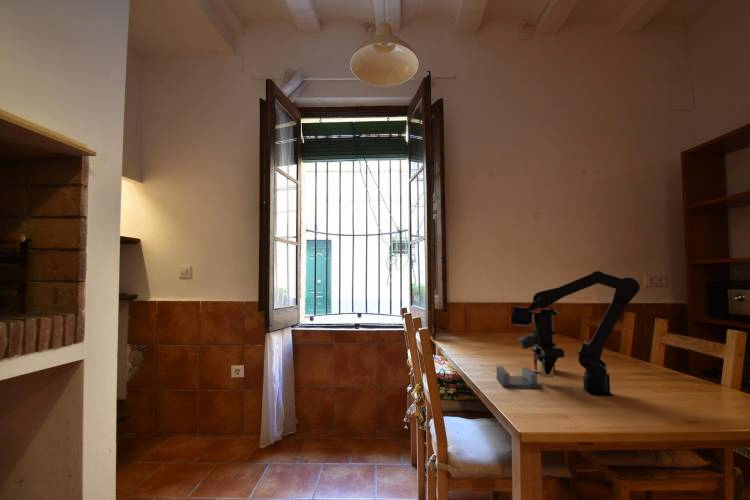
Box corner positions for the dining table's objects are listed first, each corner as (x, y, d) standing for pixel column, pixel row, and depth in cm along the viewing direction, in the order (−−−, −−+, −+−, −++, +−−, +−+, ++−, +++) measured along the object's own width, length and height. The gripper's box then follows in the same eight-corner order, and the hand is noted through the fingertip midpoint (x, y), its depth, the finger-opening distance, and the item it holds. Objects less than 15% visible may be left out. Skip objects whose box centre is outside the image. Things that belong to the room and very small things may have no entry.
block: (549, 374, 128) (548, 359, 128) (553, 377, 124) (553, 362, 124) (537, 374, 128) (536, 359, 128) (541, 377, 124) (540, 362, 124)
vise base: (530, 380, 131) (530, 367, 131) (540, 388, 121) (540, 374, 121) (496, 379, 132) (496, 366, 132) (503, 387, 122) (503, 373, 122)
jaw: (536, 376, 131) (536, 367, 131) (546, 384, 121) (546, 375, 121) (522, 375, 131) (521, 367, 131) (531, 383, 121) (530, 374, 121)
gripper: (512, 323, 137) (513, 365, 136) (528, 331, 118) (529, 379, 117) (543, 323, 136) (544, 366, 135) (564, 331, 117) (565, 380, 116)
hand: (545, 372), depth 126 cm, fingers closed on block, 4 cm apart
